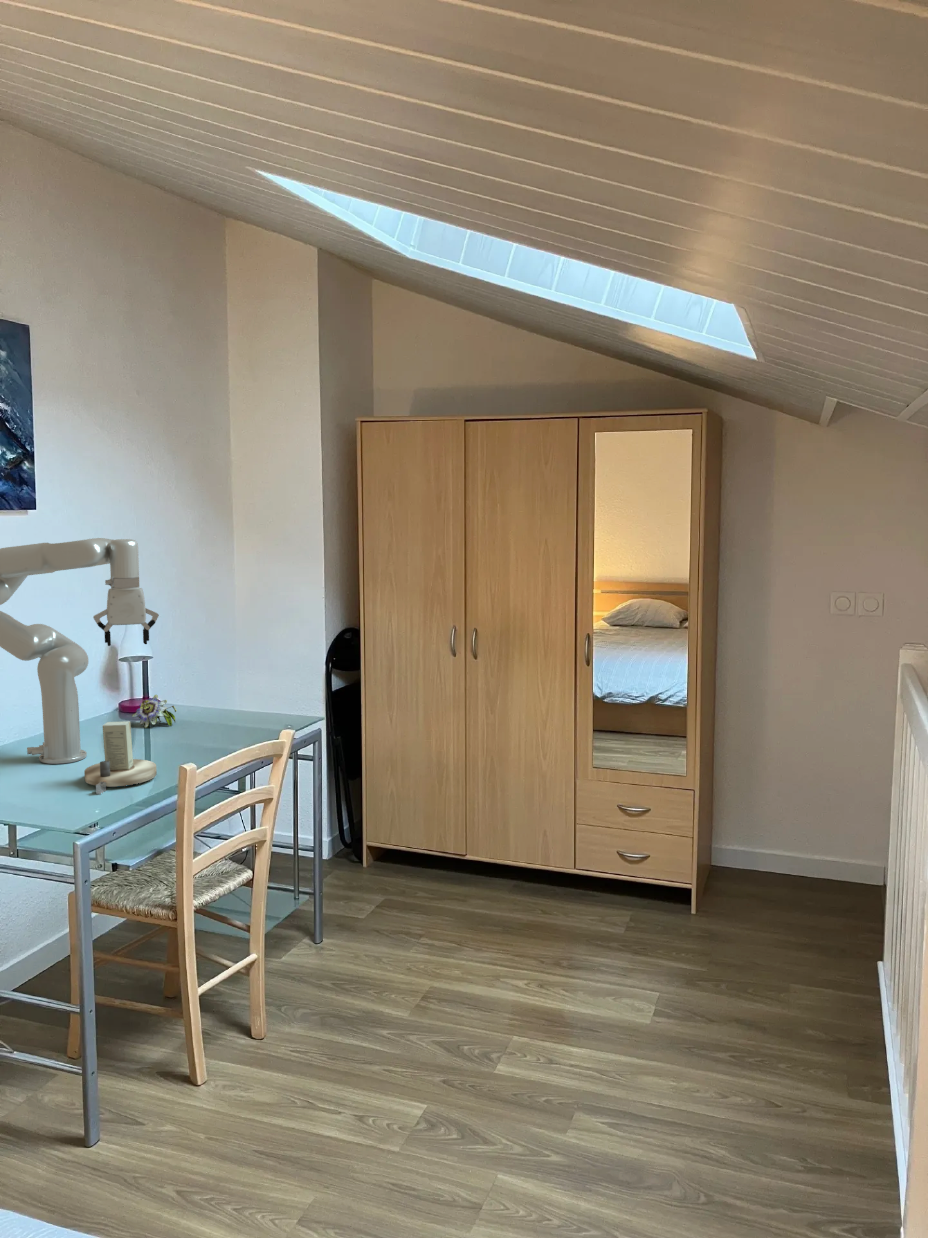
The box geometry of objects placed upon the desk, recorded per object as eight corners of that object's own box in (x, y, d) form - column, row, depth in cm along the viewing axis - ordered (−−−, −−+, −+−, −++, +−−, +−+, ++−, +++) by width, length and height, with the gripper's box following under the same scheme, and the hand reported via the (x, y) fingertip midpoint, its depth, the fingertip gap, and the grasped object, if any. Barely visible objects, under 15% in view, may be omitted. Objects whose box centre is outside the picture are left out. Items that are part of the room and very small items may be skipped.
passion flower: (147, 744, 318) (124, 715, 316) (162, 730, 329) (139, 702, 327) (172, 726, 315) (148, 697, 313) (186, 713, 325) (163, 684, 323)
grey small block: (102, 790, 251) (102, 781, 251) (107, 790, 251) (106, 781, 251) (96, 794, 248) (95, 785, 248) (100, 794, 248) (100, 785, 247)
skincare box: (133, 765, 263) (131, 720, 261) (128, 770, 258) (127, 724, 257) (109, 765, 262) (107, 721, 261) (104, 770, 258) (102, 724, 256)
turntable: (70, 783, 254) (69, 761, 253) (110, 765, 271) (109, 744, 271) (132, 788, 250) (131, 766, 249) (169, 769, 267) (168, 748, 266)
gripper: (92, 585, 267) (95, 648, 269) (159, 584, 274) (160, 644, 276) (91, 583, 274) (93, 644, 276) (156, 581, 281) (157, 641, 283)
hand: (127, 644), depth 276 cm, fingers open, 9 cm apart
